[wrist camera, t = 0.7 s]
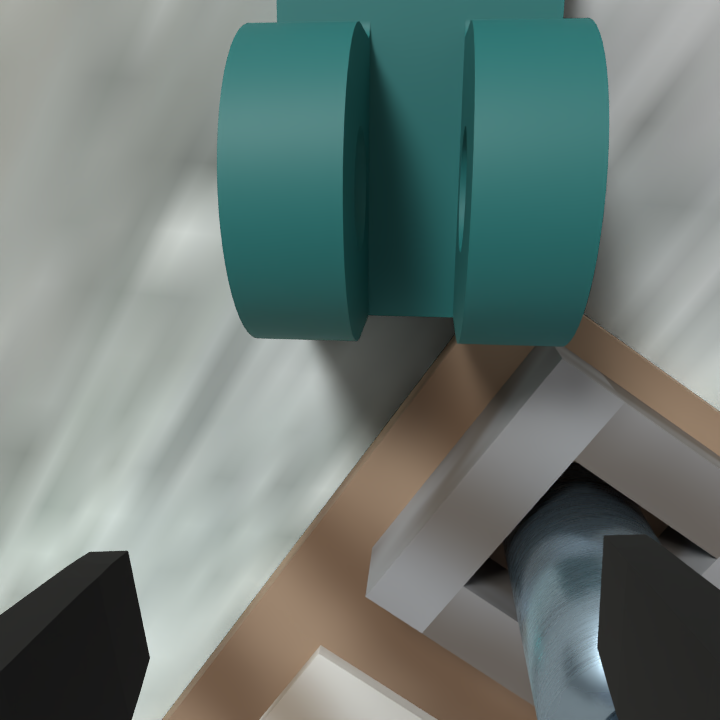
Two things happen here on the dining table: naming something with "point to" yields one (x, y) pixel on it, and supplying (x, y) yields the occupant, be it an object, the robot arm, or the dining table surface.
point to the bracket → (414, 168)
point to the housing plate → (346, 560)
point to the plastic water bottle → (567, 590)
